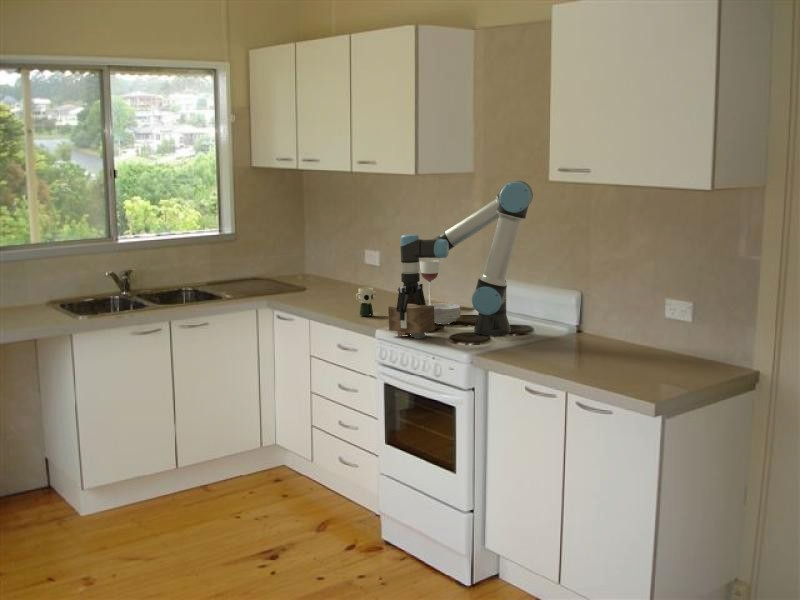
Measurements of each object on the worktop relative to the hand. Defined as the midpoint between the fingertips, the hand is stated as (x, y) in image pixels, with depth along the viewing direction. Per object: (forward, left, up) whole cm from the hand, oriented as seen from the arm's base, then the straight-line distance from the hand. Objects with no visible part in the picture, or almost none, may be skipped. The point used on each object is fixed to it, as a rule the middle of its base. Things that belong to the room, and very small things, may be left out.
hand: (411, 325), depth 379 cm
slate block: (-3, 0, -5) cm, 5 cm away
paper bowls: (+6, -33, -5) cm, 34 cm away
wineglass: (+35, -64, -5) cm, 73 cm away
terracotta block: (+4, 0, -5) cm, 6 cm away
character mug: (+46, -28, -5) cm, 54 cm away
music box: (+11, -17, -5) cm, 21 cm away
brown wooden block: (0, 0, -2) cm, 2 cm away
